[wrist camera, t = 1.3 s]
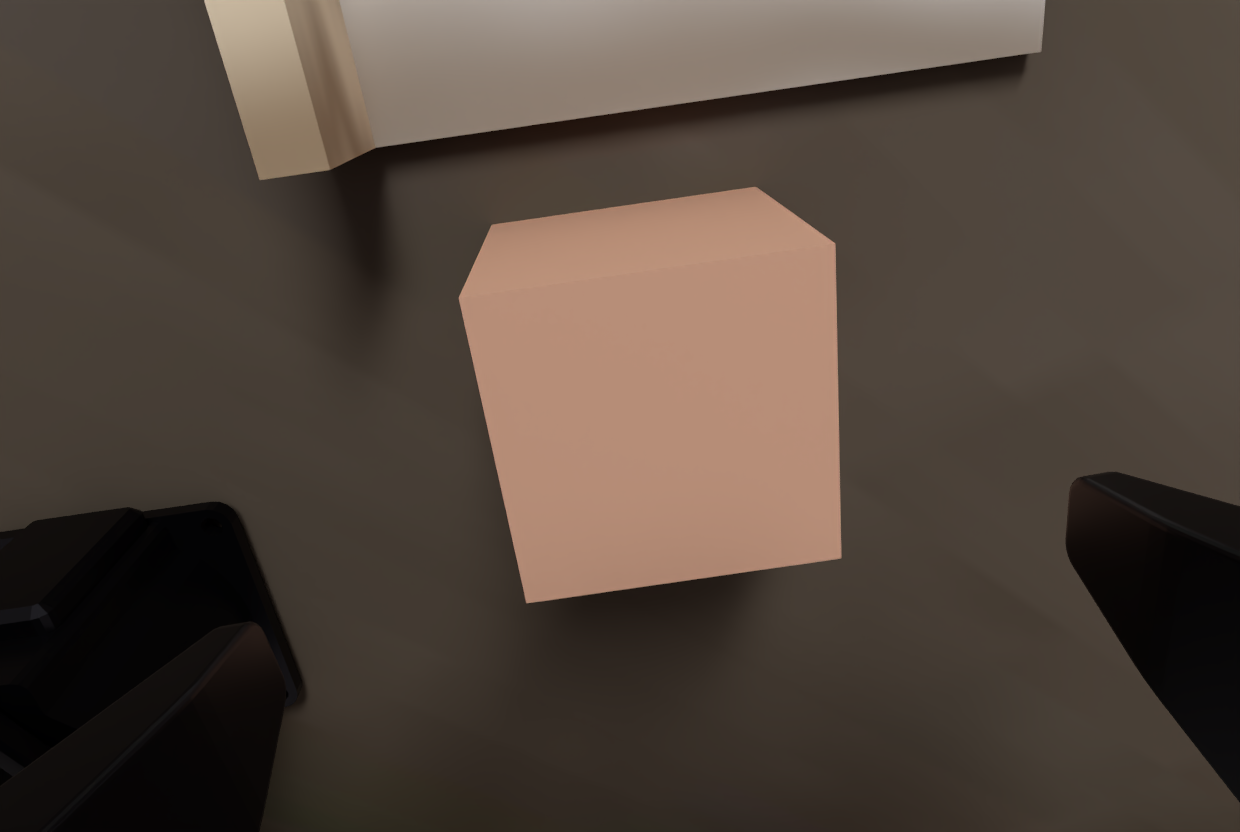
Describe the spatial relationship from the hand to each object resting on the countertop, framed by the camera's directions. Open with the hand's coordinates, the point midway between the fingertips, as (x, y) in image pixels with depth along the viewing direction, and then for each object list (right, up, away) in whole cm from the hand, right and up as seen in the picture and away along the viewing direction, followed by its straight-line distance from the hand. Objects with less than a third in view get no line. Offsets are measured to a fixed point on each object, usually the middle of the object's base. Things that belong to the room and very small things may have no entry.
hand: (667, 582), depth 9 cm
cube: (0, +4, +11) cm, 11 cm away
